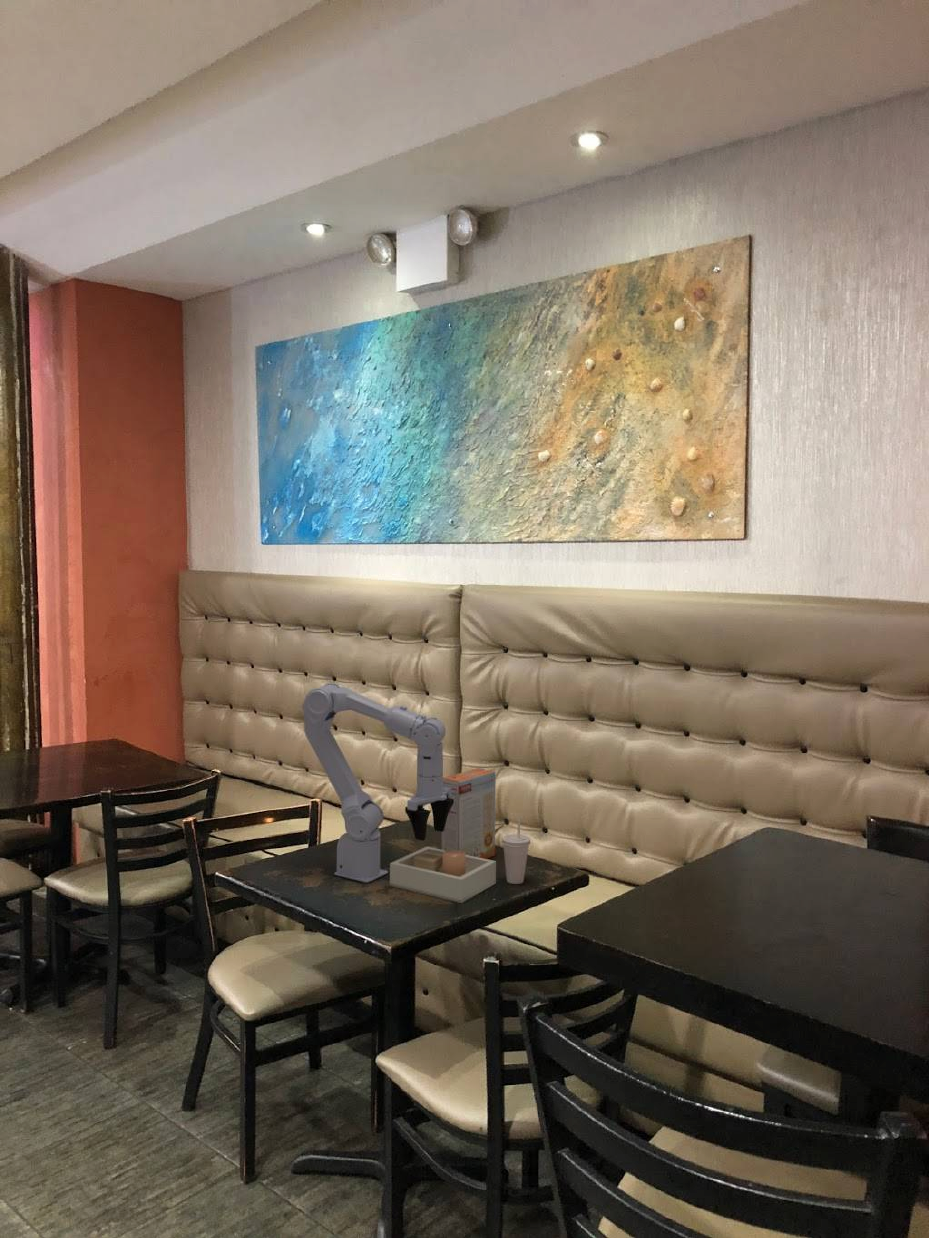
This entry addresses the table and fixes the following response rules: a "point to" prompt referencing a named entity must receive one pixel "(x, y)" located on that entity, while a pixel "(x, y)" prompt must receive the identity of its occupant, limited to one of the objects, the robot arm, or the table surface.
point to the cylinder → (454, 862)
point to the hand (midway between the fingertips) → (429, 835)
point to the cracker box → (471, 813)
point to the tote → (443, 877)
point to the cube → (429, 861)
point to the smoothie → (515, 856)
